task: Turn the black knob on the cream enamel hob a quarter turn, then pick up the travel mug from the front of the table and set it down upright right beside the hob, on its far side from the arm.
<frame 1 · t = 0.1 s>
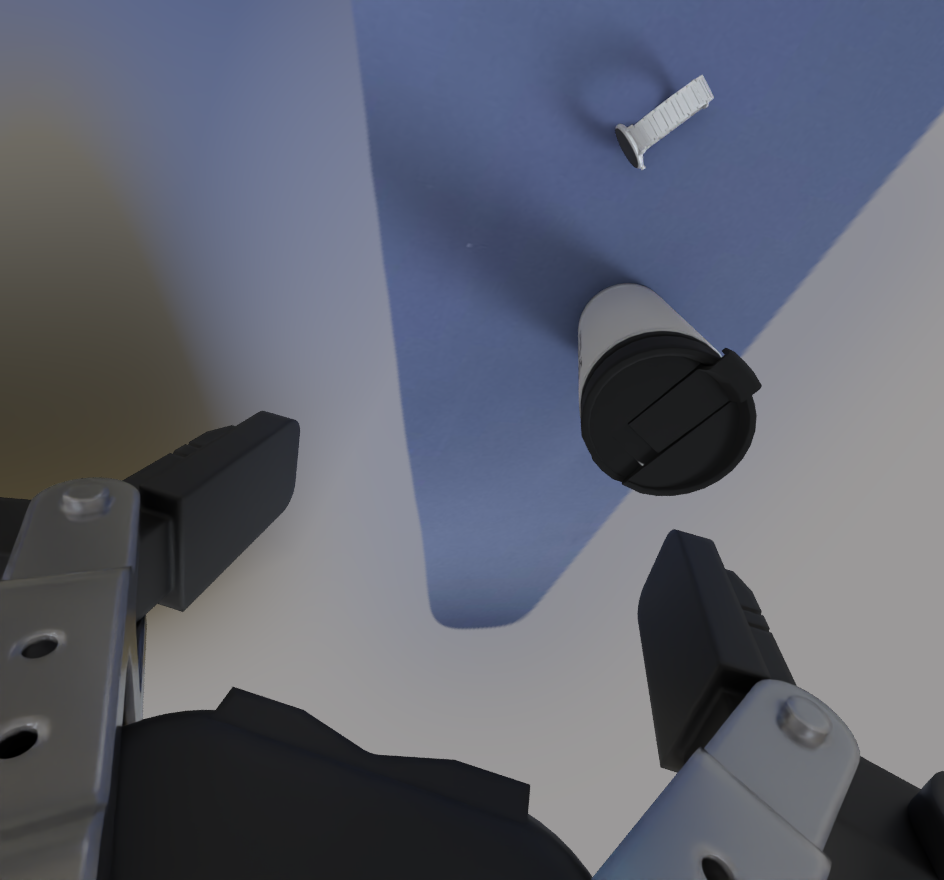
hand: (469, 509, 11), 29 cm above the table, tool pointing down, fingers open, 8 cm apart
wristwatch: (658, 128, 33), on the table
travel mug: (624, 326, 37), on the table
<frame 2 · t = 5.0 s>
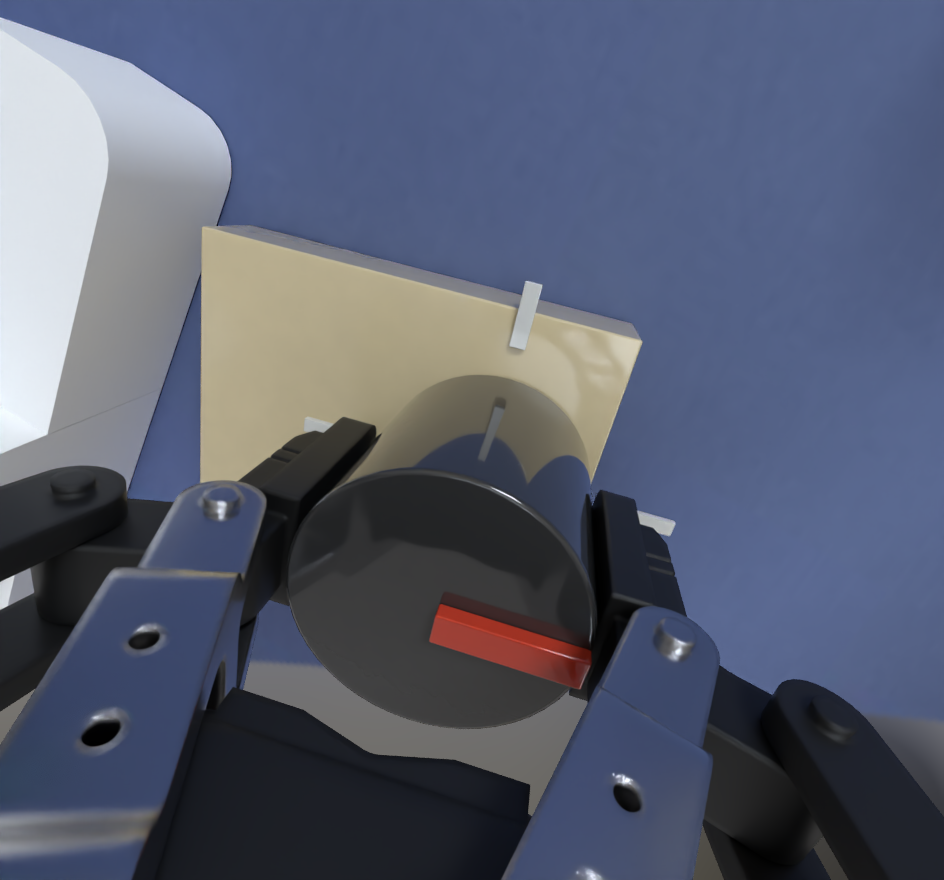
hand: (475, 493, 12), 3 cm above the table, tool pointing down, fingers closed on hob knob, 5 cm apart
bracket: (9, 347, 17), on the table
hob knob: (462, 533, 10), point 5 cm above the table, hinge at -0.2°, touching gripper
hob: (409, 417, 15), on the table
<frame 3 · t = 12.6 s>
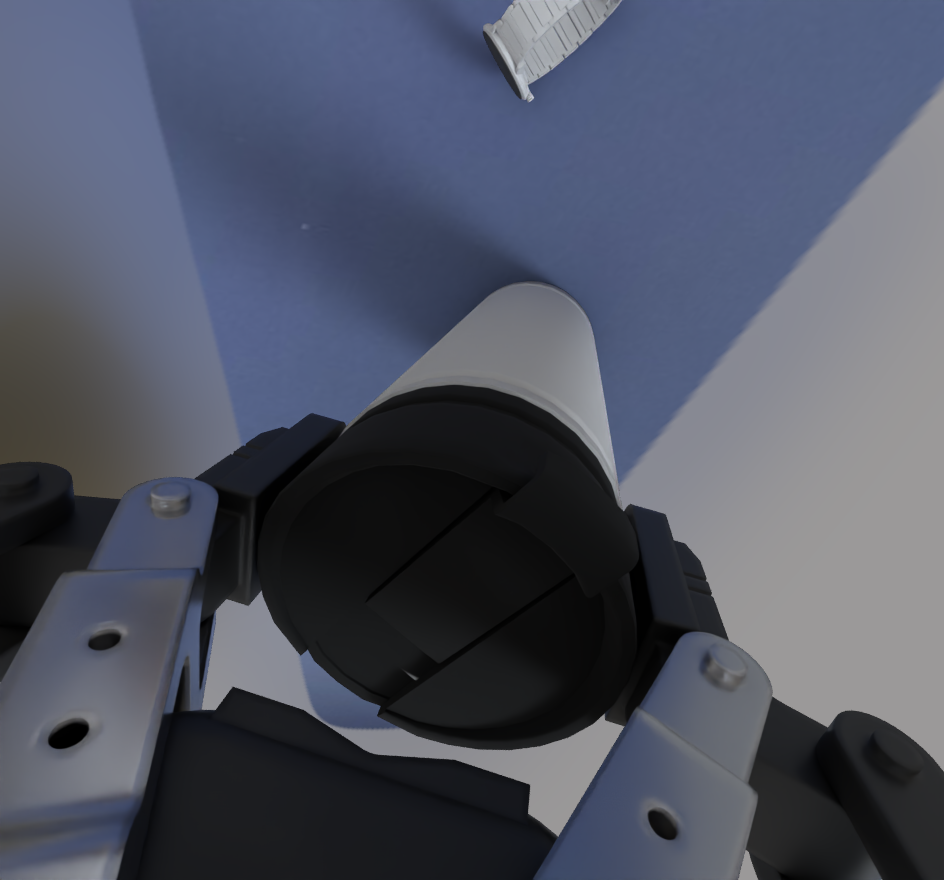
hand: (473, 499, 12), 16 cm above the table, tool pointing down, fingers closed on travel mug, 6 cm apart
wristwatch: (561, 42, 21), on the table
travel mug: (531, 343, 26), on the table, touching gripper
when the fingers open (16 cm above the table, at t = 20.6 s): travel mug stays where it is, on the table.
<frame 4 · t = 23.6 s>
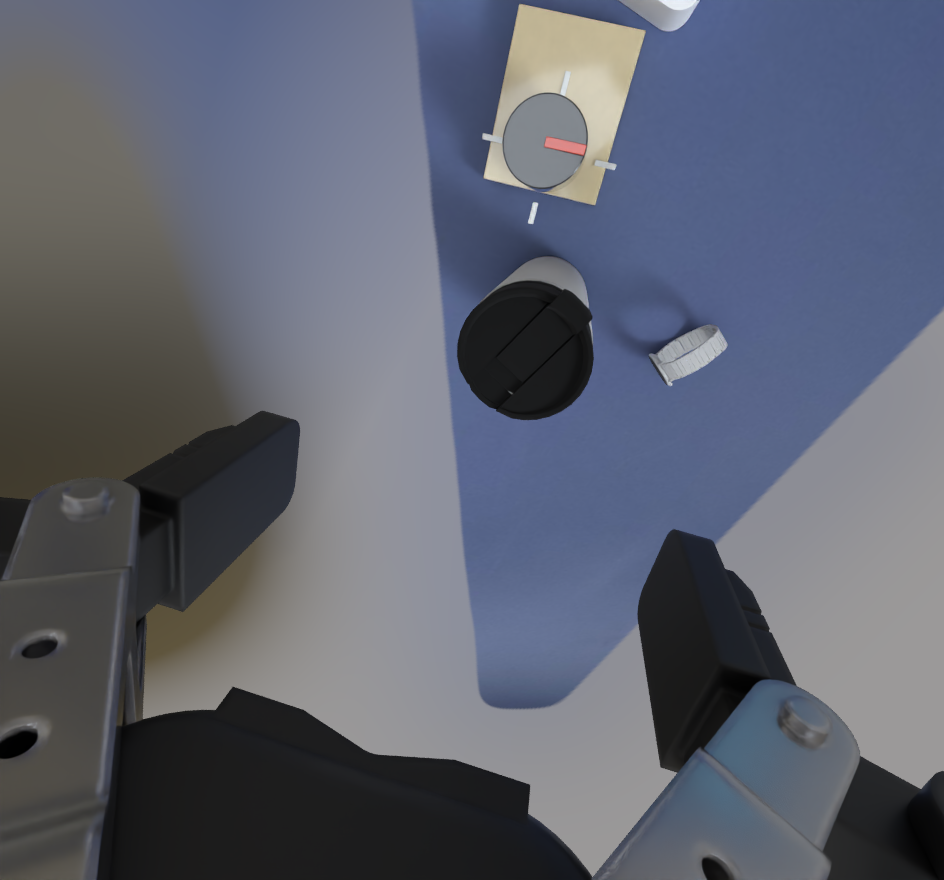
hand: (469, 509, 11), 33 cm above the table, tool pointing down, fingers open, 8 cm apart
wristwatch: (681, 345, 41), on the table
travel mug: (547, 296, 41), on the table
hob knob: (546, 146, 33), point 5 cm above the table, hinge at 90.8°
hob: (559, 114, 36), on the table
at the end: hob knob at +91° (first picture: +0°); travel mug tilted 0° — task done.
